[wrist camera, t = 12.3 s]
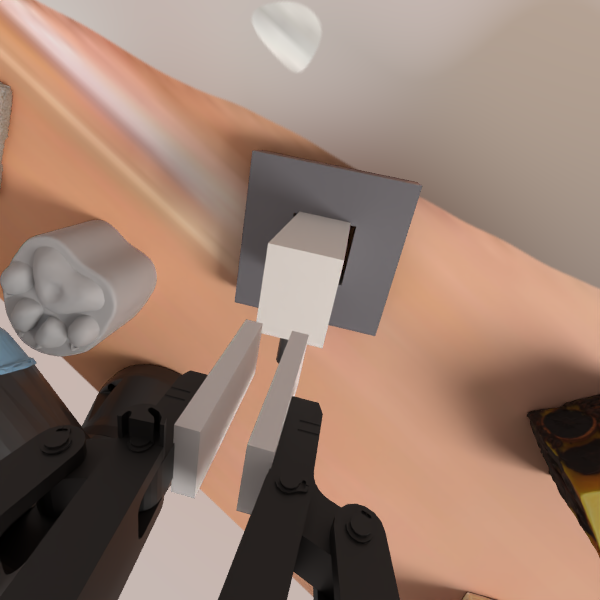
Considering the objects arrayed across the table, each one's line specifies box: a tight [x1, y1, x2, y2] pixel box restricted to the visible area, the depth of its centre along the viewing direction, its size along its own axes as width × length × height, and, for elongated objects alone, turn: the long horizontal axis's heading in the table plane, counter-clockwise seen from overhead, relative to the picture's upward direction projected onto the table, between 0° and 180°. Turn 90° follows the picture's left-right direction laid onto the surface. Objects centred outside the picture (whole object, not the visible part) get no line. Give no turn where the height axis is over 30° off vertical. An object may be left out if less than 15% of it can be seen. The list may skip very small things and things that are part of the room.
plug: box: [256, 212, 351, 363], centre depth 29 cm, size 9×4×14 cm, turn 170°
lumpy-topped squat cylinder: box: [0, 220, 157, 356], centre depth 37 cm, size 10×13×9 cm
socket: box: [235, 150, 422, 336], centre depth 33 cm, size 14×14×4 cm
